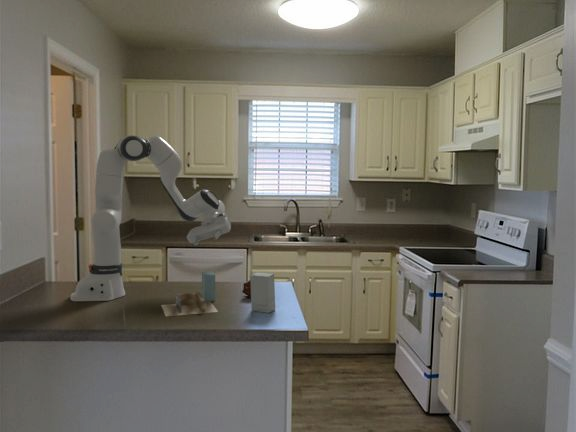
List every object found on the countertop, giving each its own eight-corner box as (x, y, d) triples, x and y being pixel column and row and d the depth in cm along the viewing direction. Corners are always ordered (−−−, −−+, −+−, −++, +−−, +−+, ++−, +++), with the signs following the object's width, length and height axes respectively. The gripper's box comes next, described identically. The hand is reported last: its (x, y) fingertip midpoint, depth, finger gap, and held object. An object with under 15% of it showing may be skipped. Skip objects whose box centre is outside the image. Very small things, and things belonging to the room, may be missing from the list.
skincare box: (275, 310, 200) (275, 273, 198) (268, 313, 194) (268, 276, 193) (257, 307, 203) (257, 271, 202) (249, 310, 198) (250, 274, 197)
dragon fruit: (247, 304, 213) (253, 301, 225) (263, 293, 213) (268, 290, 225) (236, 287, 215) (243, 285, 226) (252, 276, 214) (258, 274, 226)
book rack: (165, 318, 186) (165, 304, 185) (161, 307, 201) (161, 294, 200) (218, 314, 193) (218, 300, 192) (210, 303, 208) (210, 290, 207)
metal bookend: (179, 312, 190) (179, 301, 190) (175, 306, 200) (175, 295, 199) (181, 312, 191) (181, 301, 190) (177, 305, 200) (177, 294, 200)
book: (204, 303, 207) (204, 275, 206) (201, 299, 214) (201, 272, 213) (215, 303, 209) (215, 274, 208) (212, 298, 215) (212, 271, 214)
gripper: (188, 224, 229) (181, 241, 217) (228, 212, 224) (223, 229, 212) (194, 235, 232) (187, 252, 220) (234, 223, 227) (229, 240, 215)
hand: (205, 241), depth 216 cm, fingers open, 8 cm apart
